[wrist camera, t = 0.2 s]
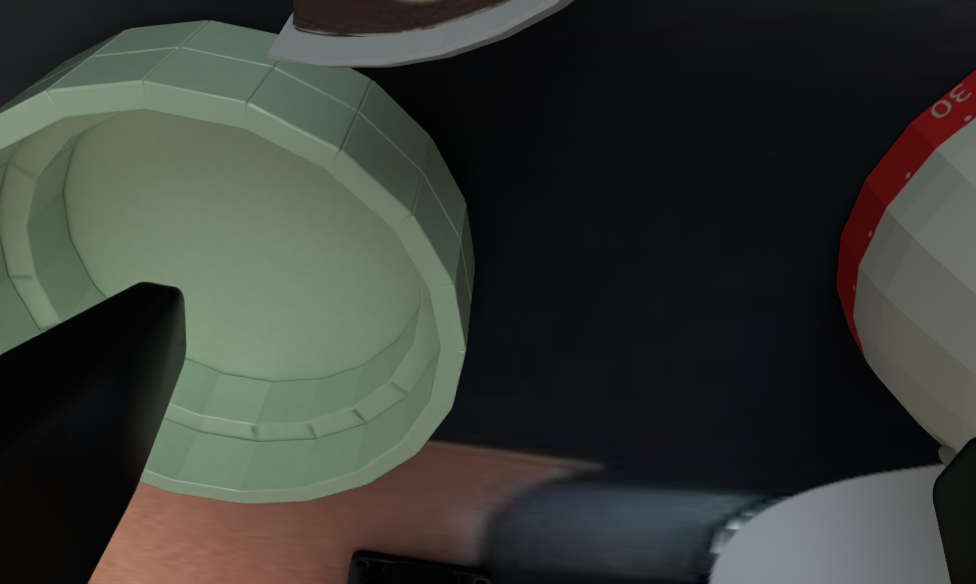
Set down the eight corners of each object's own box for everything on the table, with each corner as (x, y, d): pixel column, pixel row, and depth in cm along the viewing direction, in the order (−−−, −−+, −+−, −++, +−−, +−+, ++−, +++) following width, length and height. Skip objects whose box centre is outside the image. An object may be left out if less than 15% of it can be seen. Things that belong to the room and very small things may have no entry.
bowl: (436, 425, 30) (422, 534, 26) (59, 360, 29) (-18, 463, 25) (516, 75, 21) (513, 156, 17) (-14, -37, 20) (-148, 22, 16)
